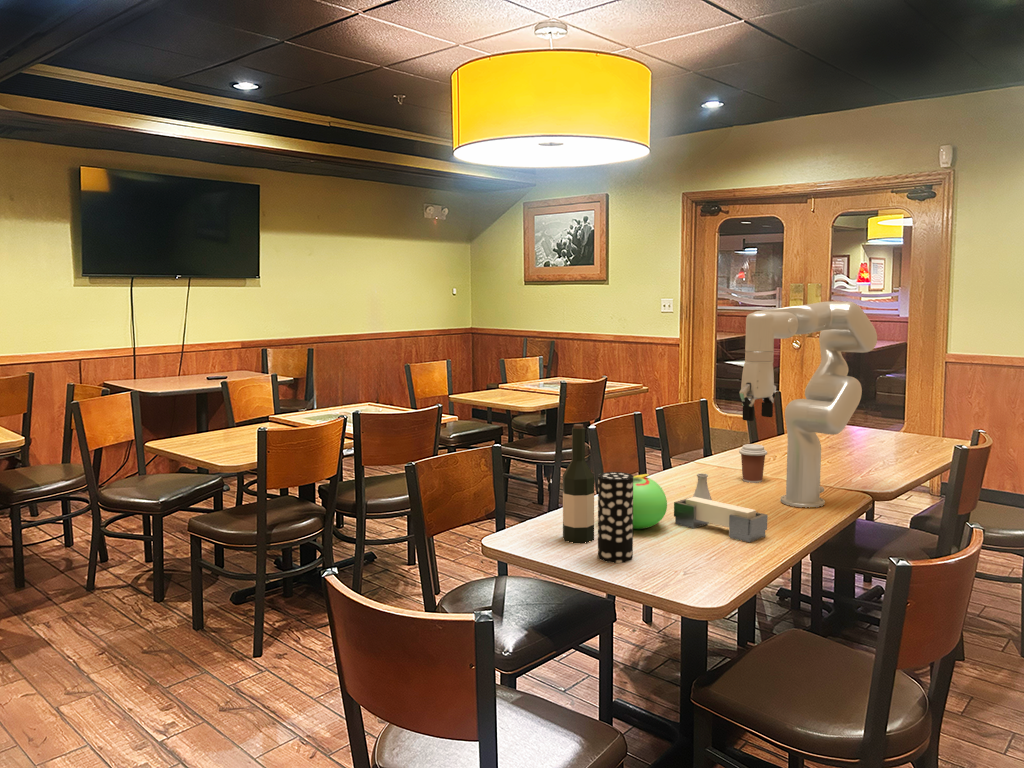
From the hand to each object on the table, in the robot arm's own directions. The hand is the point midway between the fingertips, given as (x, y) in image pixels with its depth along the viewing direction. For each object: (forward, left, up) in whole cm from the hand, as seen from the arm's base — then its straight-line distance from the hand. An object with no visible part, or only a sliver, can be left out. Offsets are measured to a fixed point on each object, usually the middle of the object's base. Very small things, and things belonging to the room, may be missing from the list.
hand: (757, 418), depth 216 cm
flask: (+2, -17, -29) cm, 33 cm away
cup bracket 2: (+18, +8, -28) cm, 35 cm away
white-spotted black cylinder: (+55, -5, -28) cm, 62 cm away
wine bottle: (+51, -21, -28) cm, 62 cm away
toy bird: (+32, -18, -28) cm, 46 cm away
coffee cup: (-39, -25, -28) cm, 54 cm away
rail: (+18, 0, -26) cm, 32 cm away
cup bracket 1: (+18, -9, -28) cm, 35 cm away
